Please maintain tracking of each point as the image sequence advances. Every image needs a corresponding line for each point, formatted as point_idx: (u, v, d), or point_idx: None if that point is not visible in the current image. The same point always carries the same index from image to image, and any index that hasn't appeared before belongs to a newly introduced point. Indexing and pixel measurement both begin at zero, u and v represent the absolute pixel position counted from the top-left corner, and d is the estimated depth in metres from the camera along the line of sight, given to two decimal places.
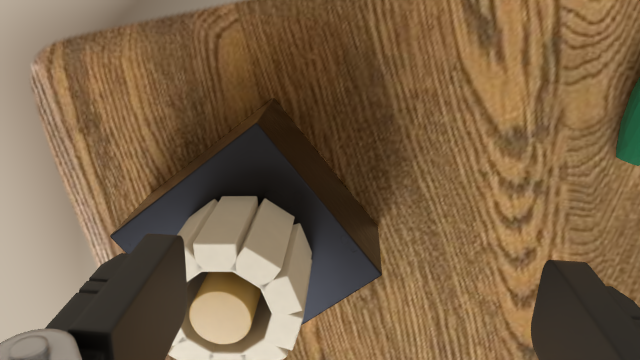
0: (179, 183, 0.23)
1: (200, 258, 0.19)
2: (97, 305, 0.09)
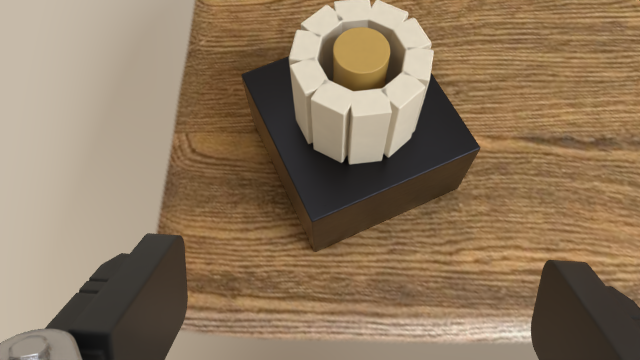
0: (275, 143, 0.26)
1: (303, 55, 0.22)
2: (97, 305, 0.09)
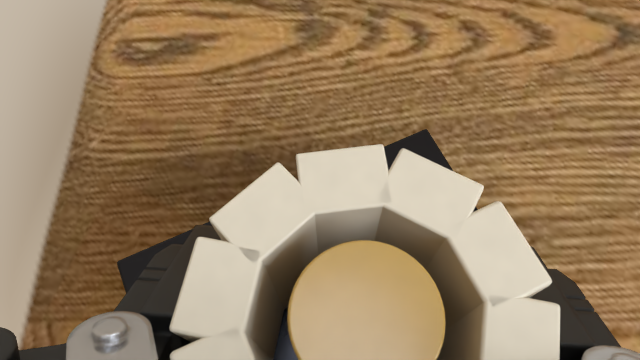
0: None
1: (208, 322, 0.08)
2: (162, 290, 0.09)
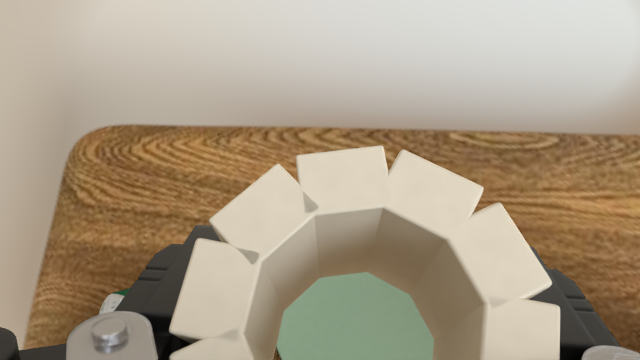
0: None
1: (208, 324, 0.08)
2: (162, 290, 0.09)
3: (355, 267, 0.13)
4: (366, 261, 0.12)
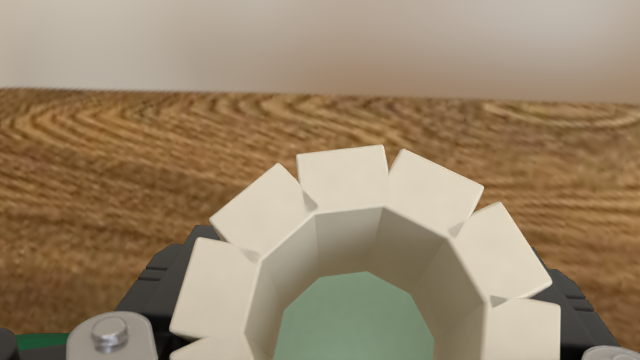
0: None
1: (208, 323, 0.08)
2: (162, 290, 0.09)
3: (355, 266, 0.13)
4: (367, 260, 0.12)
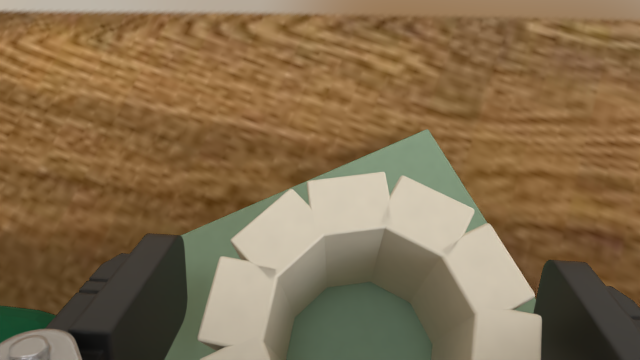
0: None
1: (231, 333, 0.09)
2: (97, 305, 0.09)
3: (359, 278, 0.14)
4: (370, 272, 0.13)
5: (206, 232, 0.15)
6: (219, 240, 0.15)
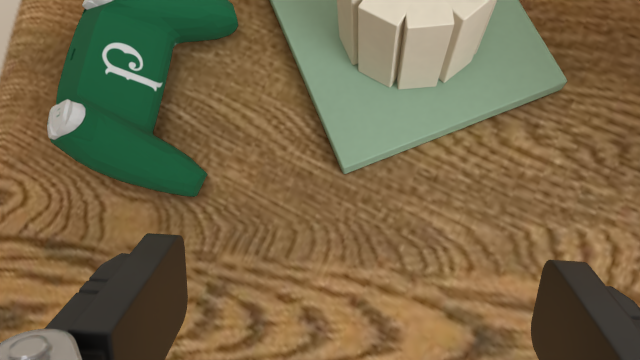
0: None
1: None
2: (97, 305, 0.09)
3: None
4: None
5: None
6: None
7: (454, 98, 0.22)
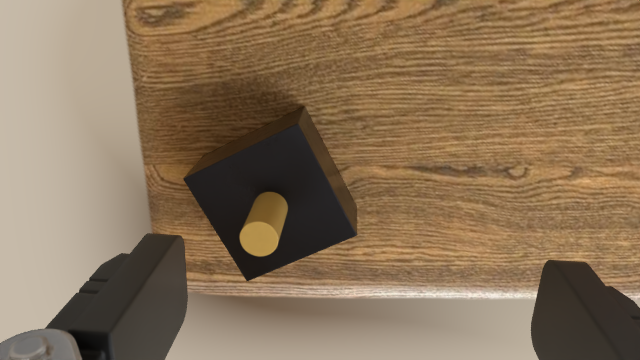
0: None
1: None
2: (97, 305, 0.09)
3: None
4: None
5: None
6: None
7: None
